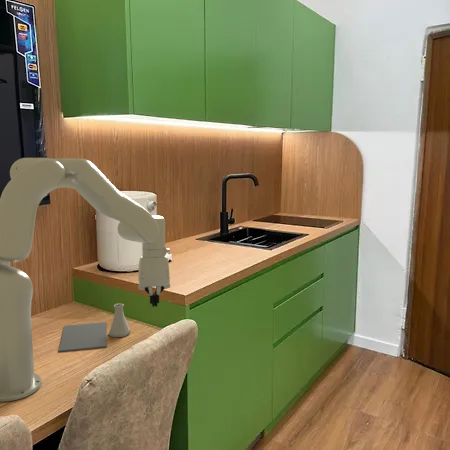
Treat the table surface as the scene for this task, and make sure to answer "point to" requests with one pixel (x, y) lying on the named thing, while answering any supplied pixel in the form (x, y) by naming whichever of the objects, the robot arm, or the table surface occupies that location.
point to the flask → (119, 323)
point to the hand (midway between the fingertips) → (154, 305)
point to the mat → (83, 337)
